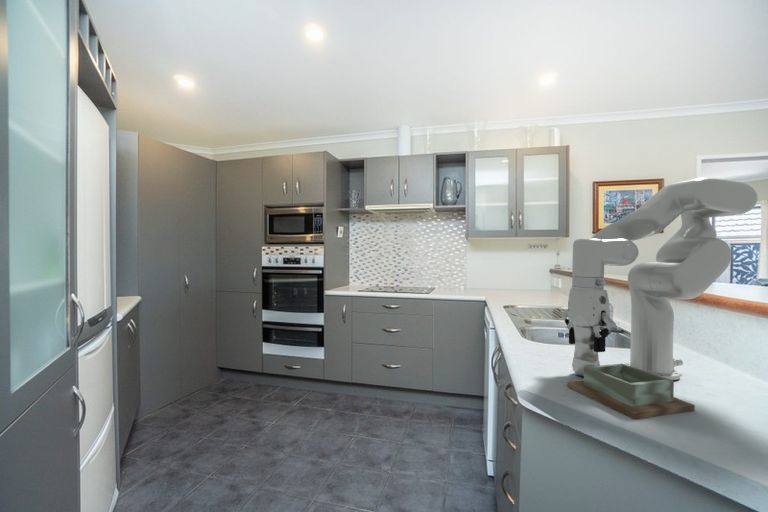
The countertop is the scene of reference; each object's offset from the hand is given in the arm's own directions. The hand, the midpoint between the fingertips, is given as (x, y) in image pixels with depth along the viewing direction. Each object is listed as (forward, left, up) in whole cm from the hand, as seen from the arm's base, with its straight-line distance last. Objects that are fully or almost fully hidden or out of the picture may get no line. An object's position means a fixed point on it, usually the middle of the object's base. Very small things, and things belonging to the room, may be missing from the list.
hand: (586, 347), depth 93 cm
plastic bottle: (0, 0, -8) cm, 8 cm away
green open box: (+3, +14, -8) cm, 16 cm away
